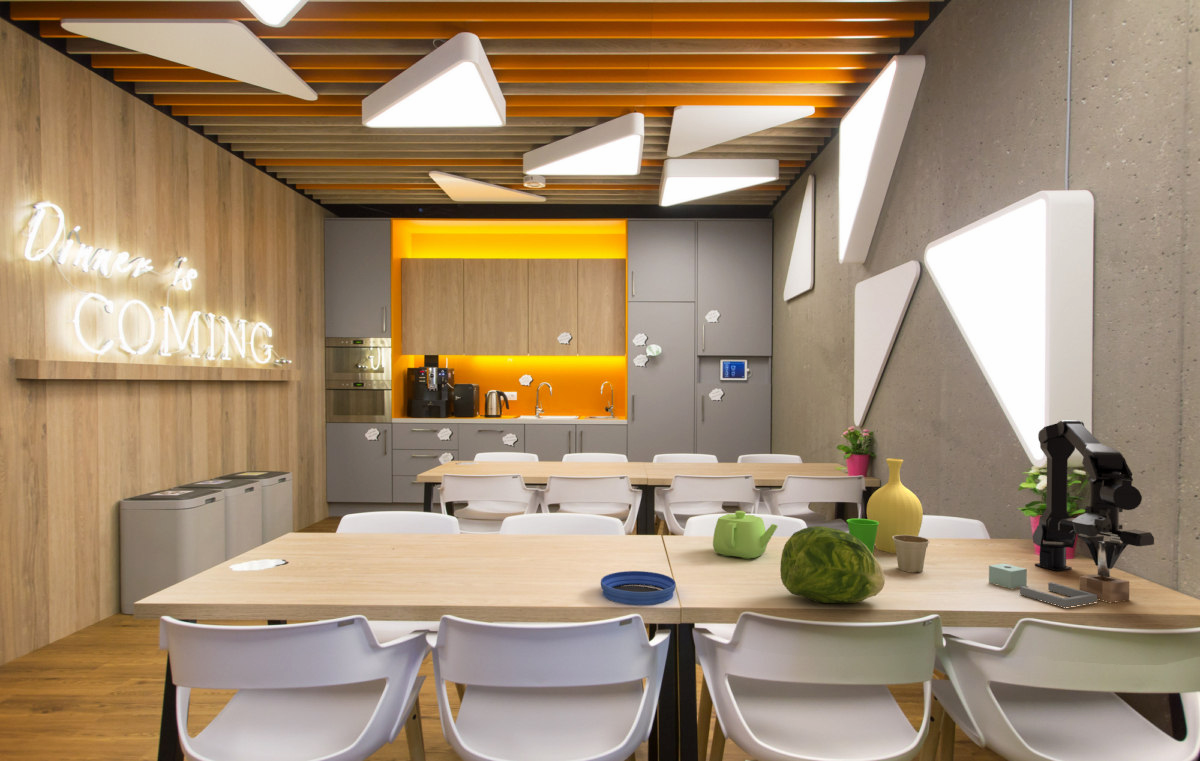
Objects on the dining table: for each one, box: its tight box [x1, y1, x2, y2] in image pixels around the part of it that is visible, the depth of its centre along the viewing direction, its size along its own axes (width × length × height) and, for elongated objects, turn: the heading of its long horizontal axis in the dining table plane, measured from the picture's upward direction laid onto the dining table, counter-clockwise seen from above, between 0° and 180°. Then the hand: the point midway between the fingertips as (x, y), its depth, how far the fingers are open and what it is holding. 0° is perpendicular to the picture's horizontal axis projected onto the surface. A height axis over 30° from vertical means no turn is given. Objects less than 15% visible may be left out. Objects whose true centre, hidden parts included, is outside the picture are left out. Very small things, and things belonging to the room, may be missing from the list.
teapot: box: [712, 510, 779, 560], centre depth 202 cm, size 18×20×13 cm
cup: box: [845, 518, 879, 556], centre depth 199 cm, size 9×9×11 cm
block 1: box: [988, 563, 1028, 589], centre depth 174 cm, size 6×6×5 cm
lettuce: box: [779, 525, 886, 604], centre depth 160 cm, size 18×23×19 cm
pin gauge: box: [1097, 540, 1111, 577], centre depth 164 cm, size 2×2×8 cm
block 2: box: [1079, 573, 1130, 603], centre depth 164 cm, size 7×7×4 cm
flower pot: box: [892, 535, 930, 573], centre depth 187 cm, size 9×9×9 cm
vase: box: [866, 458, 924, 554], centre depth 211 cm, size 16×16×28 cm
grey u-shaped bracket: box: [1019, 581, 1098, 608], centre depth 162 cm, size 11×11×2 cm
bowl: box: [600, 570, 677, 606], centre depth 164 cm, size 18×18×4 cm
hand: (1103, 567), depth 164 cm, fingers closed on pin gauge, 2 cm apart
